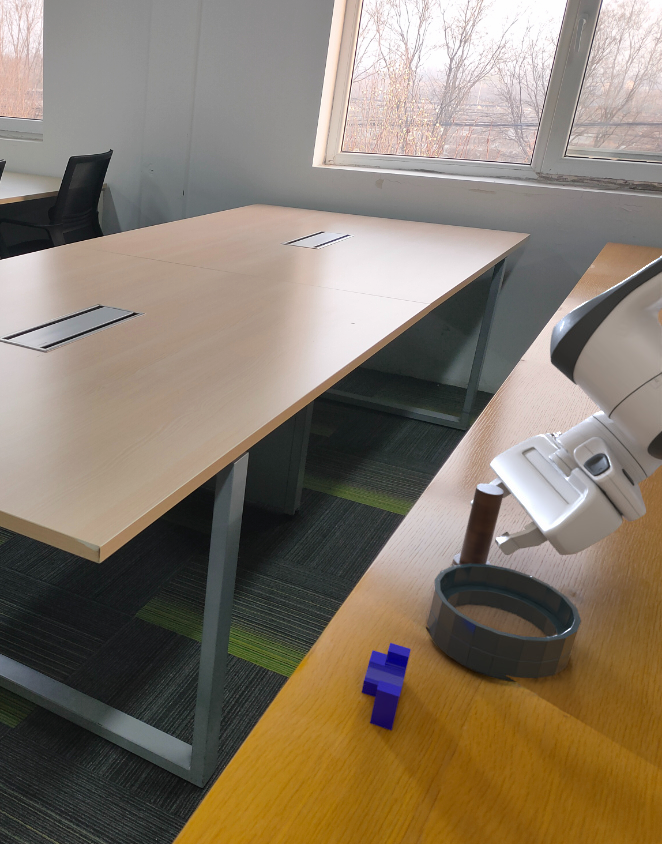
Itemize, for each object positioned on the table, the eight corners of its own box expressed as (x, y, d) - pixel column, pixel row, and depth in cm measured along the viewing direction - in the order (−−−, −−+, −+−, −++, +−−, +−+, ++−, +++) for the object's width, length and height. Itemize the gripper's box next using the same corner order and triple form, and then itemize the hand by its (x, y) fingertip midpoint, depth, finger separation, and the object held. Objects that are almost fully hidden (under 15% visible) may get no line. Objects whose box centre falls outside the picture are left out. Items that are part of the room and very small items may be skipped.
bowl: (591, 659, 86) (607, 612, 84) (518, 707, 79) (533, 657, 77) (472, 594, 97) (483, 551, 95) (398, 631, 90) (407, 585, 88)
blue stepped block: (368, 669, 84) (375, 638, 82) (403, 680, 82) (410, 648, 81) (353, 717, 77) (360, 683, 75) (391, 730, 75) (399, 696, 74)
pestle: (494, 585, 99) (518, 492, 94) (473, 596, 97) (496, 500, 92) (462, 569, 103) (483, 477, 98) (441, 578, 100) (462, 485, 95)
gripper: (543, 410, 101) (447, 473, 105) (620, 479, 82) (499, 553, 86) (571, 446, 102) (475, 507, 107) (654, 522, 83) (532, 592, 88)
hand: (486, 528), depth 96 cm, fingers open, 8 cm apart
